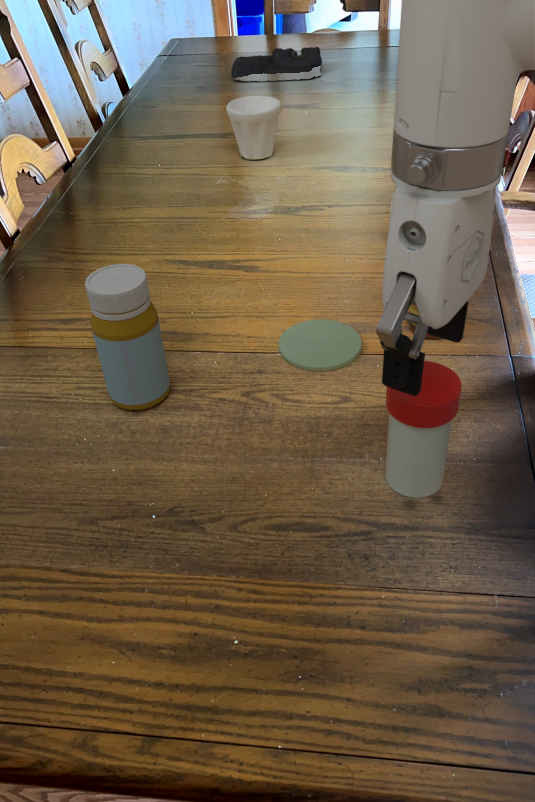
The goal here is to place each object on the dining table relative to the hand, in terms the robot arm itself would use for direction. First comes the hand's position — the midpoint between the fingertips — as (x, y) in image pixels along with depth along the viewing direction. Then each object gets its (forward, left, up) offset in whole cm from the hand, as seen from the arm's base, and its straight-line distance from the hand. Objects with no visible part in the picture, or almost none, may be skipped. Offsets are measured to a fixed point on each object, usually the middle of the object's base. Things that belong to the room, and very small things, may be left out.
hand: (423, 361), depth 60 cm
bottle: (+32, +4, -14) cm, 35 cm away
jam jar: (0, 0, -14) cm, 14 cm away
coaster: (+19, -14, -14) cm, 28 cm away
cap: (0, 0, -3) cm, 3 cm away
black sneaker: (+87, -107, -14) cm, 139 cm away
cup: (+61, -61, -14) cm, 88 cm away
